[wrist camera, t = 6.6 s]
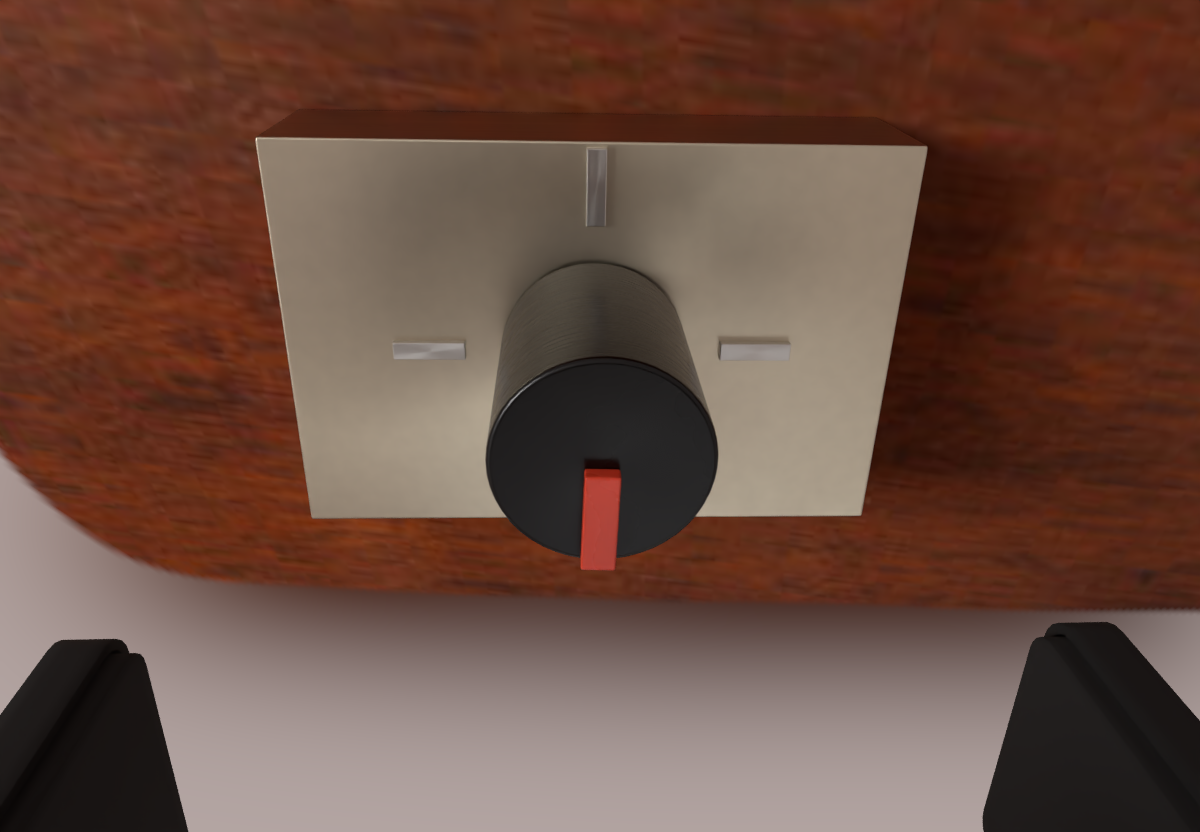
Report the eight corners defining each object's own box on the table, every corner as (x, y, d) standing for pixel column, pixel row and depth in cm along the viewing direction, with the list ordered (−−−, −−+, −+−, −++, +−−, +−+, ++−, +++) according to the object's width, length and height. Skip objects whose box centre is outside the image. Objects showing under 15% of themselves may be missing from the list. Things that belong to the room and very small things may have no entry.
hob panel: (341, 450, 22) (309, 523, 20) (297, 108, 19) (250, 138, 16) (826, 450, 23) (864, 521, 20) (878, 117, 19) (932, 146, 16)
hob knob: (501, 258, 17) (481, 363, 13) (692, 265, 17) (735, 371, 13) (501, 428, 19) (485, 571, 14) (676, 432, 19) (710, 574, 15)
